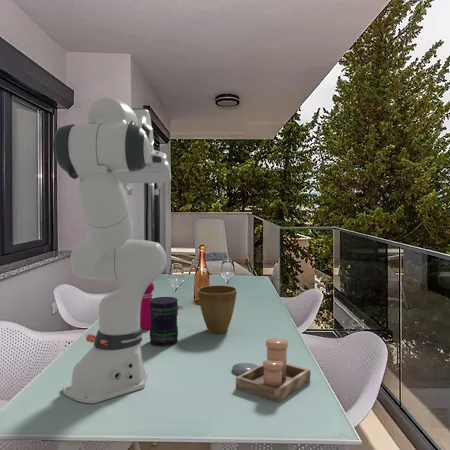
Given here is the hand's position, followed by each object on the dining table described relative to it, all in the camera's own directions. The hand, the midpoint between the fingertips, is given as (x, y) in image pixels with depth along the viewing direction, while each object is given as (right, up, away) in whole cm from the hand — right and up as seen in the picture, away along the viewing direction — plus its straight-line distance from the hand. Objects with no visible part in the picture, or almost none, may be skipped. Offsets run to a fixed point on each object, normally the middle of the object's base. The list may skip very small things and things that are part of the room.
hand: (143, 194), depth 158 cm
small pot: (+41, -54, -42) cm, 80 cm away
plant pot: (+26, -51, +11) cm, 59 cm away
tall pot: (+43, -53, -34) cm, 77 cm away
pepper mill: (-2, -51, +15) cm, 53 cm away
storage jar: (+8, -52, -2) cm, 53 cm away
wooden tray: (+42, -54, -37) cm, 78 cm away
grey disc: (+35, -53, -28) cm, 70 cm away
